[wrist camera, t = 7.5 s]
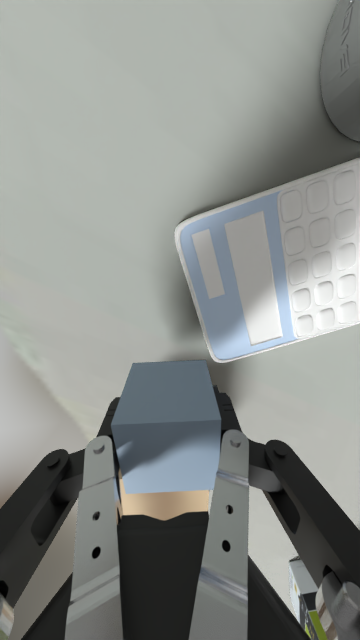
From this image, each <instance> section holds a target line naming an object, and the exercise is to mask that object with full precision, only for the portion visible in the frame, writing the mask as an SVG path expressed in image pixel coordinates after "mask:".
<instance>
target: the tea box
mask: <svg viewBox="0 0 360 640" xmlns="http://www.w3.org/2000/svg"><path fill="white" fill-rule="evenodd" d="M289 572H290V598H291V602H292V605H293V607H294V610H295V613H296V616H297V619H298V622H299V623H300V625H301V626H302V627H303V629H304V630H305V631H306V633H307V634H308V635H309V637H310V638H311V639H312V640H327V637H326V634H325V631H324V629H323V627H322V625H321V622H320V620H319V617H318V614H317V609H316V594H317V591H318V588H317V586H316V584H315V582H314V581H313V579H312V577H311V575H310V574H309V572H308V570H307V568H306V567H305V565H304V563H303V561H302V560H301V559H300V560H295V561H291V562H289Z"/></svg>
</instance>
